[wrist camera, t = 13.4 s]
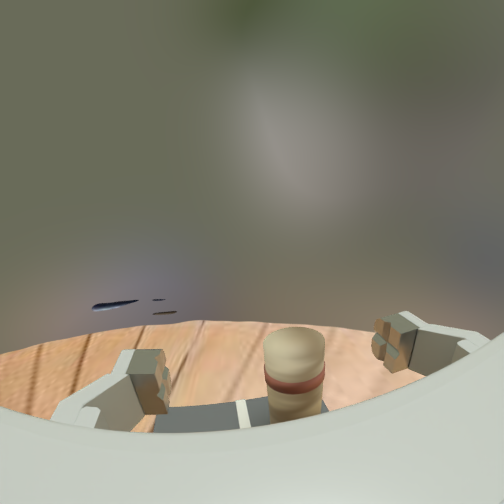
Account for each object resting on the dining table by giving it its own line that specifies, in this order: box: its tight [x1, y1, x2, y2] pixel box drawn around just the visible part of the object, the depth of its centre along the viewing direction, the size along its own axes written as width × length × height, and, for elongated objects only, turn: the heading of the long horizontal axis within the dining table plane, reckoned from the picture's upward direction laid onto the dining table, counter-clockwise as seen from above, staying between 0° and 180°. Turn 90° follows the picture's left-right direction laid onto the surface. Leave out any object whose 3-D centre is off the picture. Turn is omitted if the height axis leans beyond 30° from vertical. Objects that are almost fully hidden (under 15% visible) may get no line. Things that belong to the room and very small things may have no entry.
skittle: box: [263, 327, 325, 424], centre depth 22 cm, size 5×5×12 cm
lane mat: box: [153, 396, 329, 433], centre depth 23 cm, size 20×14×1 cm
